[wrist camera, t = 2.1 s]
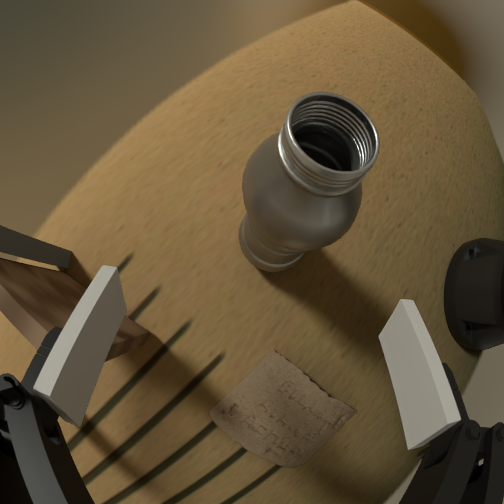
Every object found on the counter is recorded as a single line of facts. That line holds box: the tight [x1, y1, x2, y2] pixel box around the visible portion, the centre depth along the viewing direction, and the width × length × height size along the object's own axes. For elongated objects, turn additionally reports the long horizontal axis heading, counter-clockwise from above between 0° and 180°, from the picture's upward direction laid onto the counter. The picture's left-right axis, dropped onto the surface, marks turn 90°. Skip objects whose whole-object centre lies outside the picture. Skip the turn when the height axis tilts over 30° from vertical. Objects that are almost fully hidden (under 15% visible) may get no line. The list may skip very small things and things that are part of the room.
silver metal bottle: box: [239, 92, 380, 272], centre depth 19 cm, size 6×7×20 cm
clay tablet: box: [209, 349, 357, 468], centre depth 25 cm, size 14×10×3 cm
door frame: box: [0, 225, 72, 269], centre depth 17 cm, size 2×18×18 cm, turn 173°
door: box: [0, 258, 150, 362], centre depth 19 cm, size 13×3×14 cm, turn 63°
